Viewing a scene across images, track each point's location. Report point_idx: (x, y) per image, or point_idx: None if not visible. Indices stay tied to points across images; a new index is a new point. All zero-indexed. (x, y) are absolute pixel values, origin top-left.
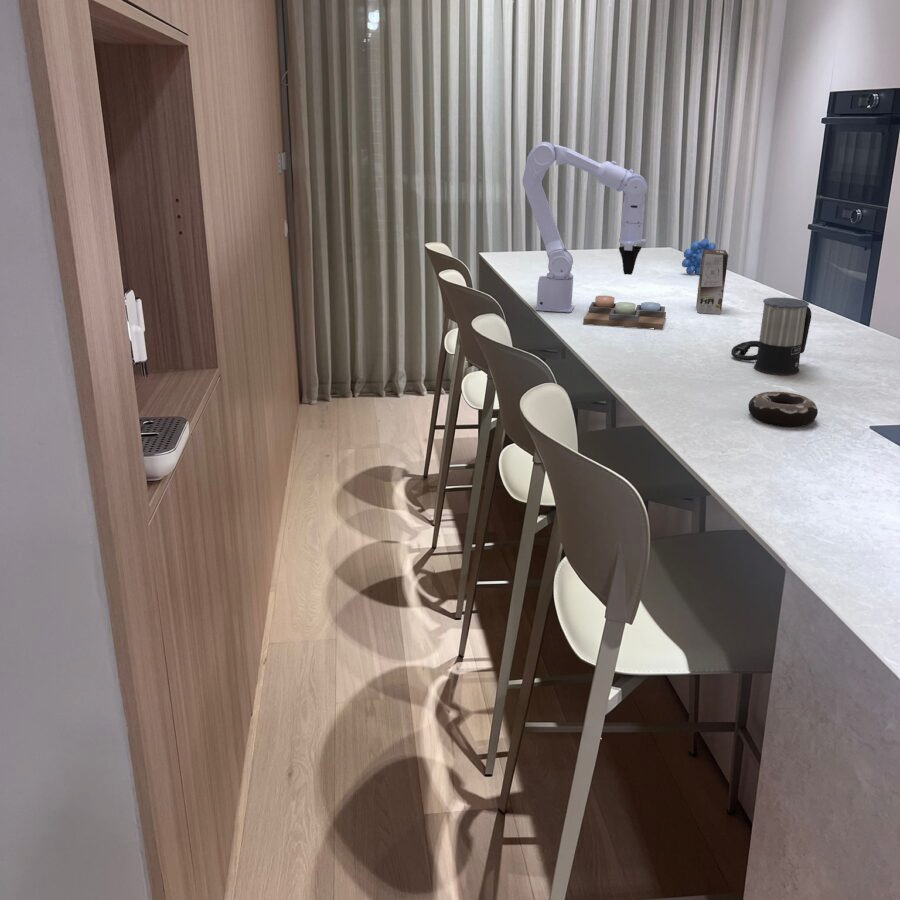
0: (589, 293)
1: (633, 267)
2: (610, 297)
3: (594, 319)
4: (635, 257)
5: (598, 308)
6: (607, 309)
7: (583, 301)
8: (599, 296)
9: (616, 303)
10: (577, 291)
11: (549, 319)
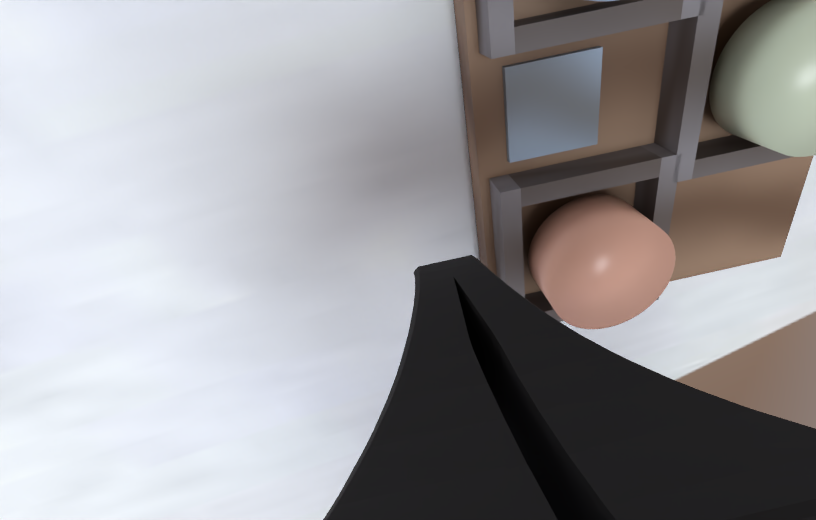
0: (18, 456)
1: (515, 291)
2: (604, 250)
3: (794, 207)
4: (664, 386)
5: None
6: (668, 205)
7: (241, 408)
8: (590, 314)
9: (814, 150)
10: (26, 501)
11: (677, 373)
